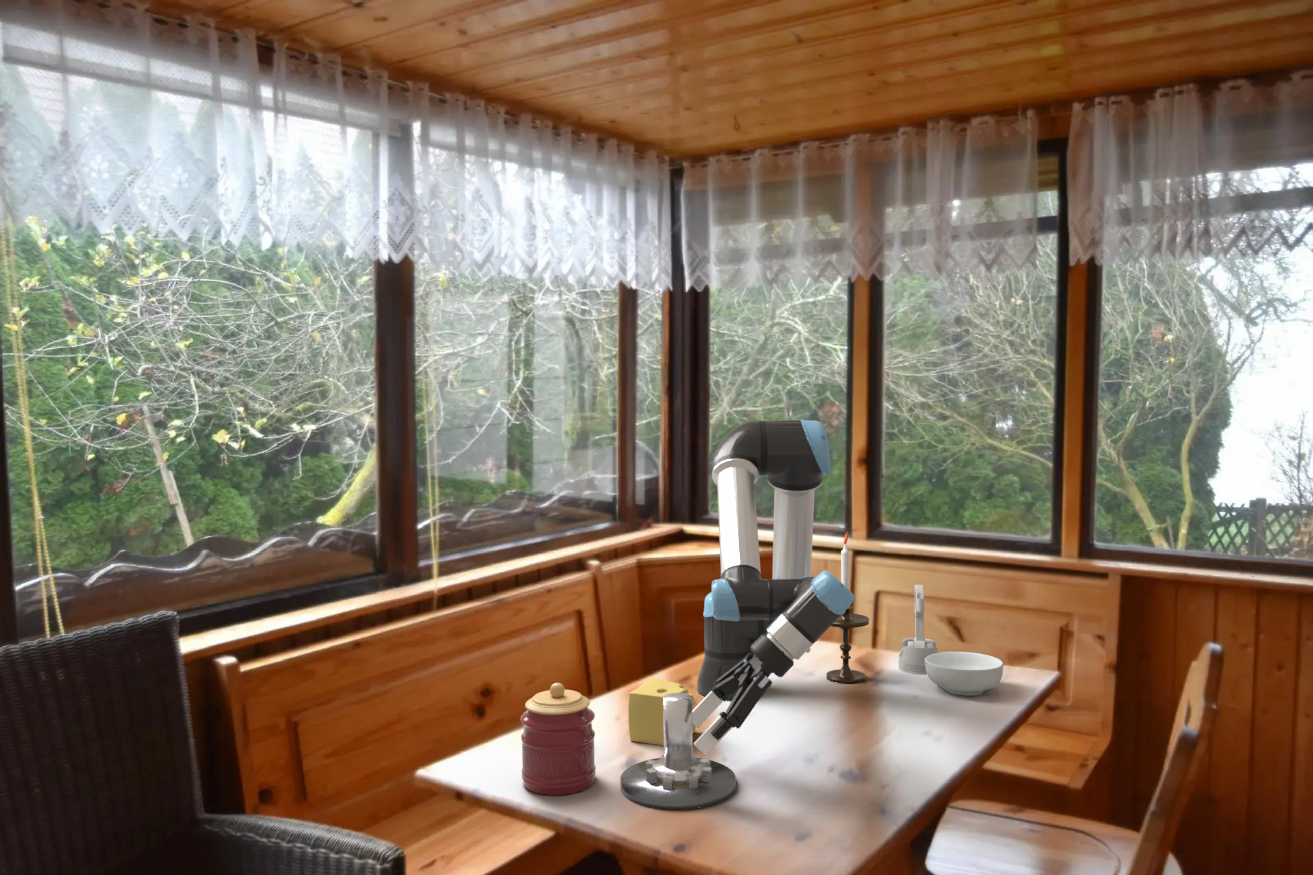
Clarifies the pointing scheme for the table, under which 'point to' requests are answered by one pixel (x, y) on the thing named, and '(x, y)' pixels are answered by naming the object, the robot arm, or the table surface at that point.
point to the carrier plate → (677, 789)
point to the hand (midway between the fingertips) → (695, 735)
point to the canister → (558, 742)
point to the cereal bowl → (964, 671)
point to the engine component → (916, 640)
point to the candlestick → (845, 623)
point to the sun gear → (678, 748)
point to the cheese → (651, 710)
